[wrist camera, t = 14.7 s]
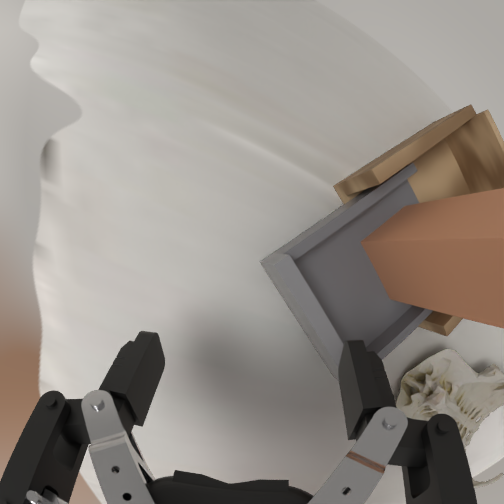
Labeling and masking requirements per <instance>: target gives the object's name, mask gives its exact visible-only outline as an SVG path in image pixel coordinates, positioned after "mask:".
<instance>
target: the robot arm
mask: <svg viewBox="0 0 504 504" xmlns="http://www.w3.org/2000/svg"><path fill="white" fill-rule="evenodd" d="M164 366H165V357H164V353H163V350H162V346H161V342H160V339H159V335H158V334H157V333H154V332H145V331H140V332H139V334H138V335H137V337H136V339H135V341H129V342H128V343H127V344H125V345H124V346H123V347H122V348H121V349H120V351H119V353H118V355H117V358H115V360H114V362H113V365H112V366H111V368H110V369H109V371H108V373H107V375H106V377H105V379H104V380H103V382H102V384H101V386H100V388H99V390H95V391H92V392H90V393H88V394H87V395H86V396H85V397H84V398H83V399H65V397H64V396H63V394H62V393H60V392H58V391H49V392H47V393H45V394H44V395H42V396H41V398H40V399H39V401H38V403H37V405H36V407H35V409H34V411H33V413H32V414H31V416H30V418H29V420H28V422H27V424H26V426H25V428H24V430H23V432H22V434H21V436H20V438H19V440H18V442H17V444H16V447H15V449H14V451H13V453H12V455H11V458H10V460H9V462H8V464H7V467H6V469H5V471H4V474H3V477H2V479H1V481H0V504H69V500H70V497H71V494H72V491H73V488H74V485H75V482H76V478H77V476H78V473H79V470H80V467H81V464H82V461H83V458H84V456H85V453H86V450H87V447H88V444H91V445H90V446H89V453H90V456H91V459H92V463H93V466H94V469H95V472H96V475H97V478H98V480H99V483H100V486H101V489H102V491H103V494H104V496H105V499H106V501H107V504H364V503H365V502H366V500H367V499H368V497H369V496H370V494H371V493H372V491H373V490H374V488H375V487H376V485H377V483H378V482H379V480H380V479H381V477H382V475H383V473H384V471H385V467H386V465H387V464H390V465H398V466H402V471H403V479H404V486H405V495H406V504H477V500H476V495H475V490H474V485H473V481H472V476H471V472H470V468H469V464H468V460H467V456H466V453H465V449H464V445H463V442H462V439H461V435H460V432H459V429H458V425H457V423H456V421H455V420H454V419H453V418H452V417H451V416H449V415H447V414H436V415H434V416H432V417H431V418H430V419H429V421H426V420H417V419H411V418H408V417H406V415H405V414H404V413H403V412H402V411H401V410H400V409H398V408H397V407H396V404H395V401H394V397H393V394H392V391H391V388H390V384H389V381H388V378H387V375H386V372H385V371H384V366H383V363H382V360H381V358H380V357H379V356H378V355H377V354H376V353H375V352H374V351H370V352H367V350H366V347H365V344H364V341H363V340H347V341H345V343H344V346H343V350H342V354H341V358H340V362H339V367H338V378H339V384H340V390H341V396H342V402H343V408H344V415H345V421H346V428H347V435H348V440H353V439H356V444H355V445H354V447H353V448H352V449H351V451H350V452H349V453H348V454H347V455H346V456H345V458H344V459H343V460H342V462H341V463H340V464H339V466H338V467H337V468H336V470H335V471H334V472H333V474H332V475H331V476H330V477H329V479H328V480H327V481H326V482H325V484H324V485H323V486H322V487H321V489H320V490H319V491H318V492H317V493H316V495H315V496H312V495H311V494H309V493H307V492H305V491H303V490H301V489H298V488H295V487H291V486H289V480H255V481H249V482H242V483H234V484H228V483H225V482H222V481H219V480H216V479H213V478H210V477H207V476H205V475H202V474H195V473H189V472H183V471H177V470H175V472H174V476H168V477H162V478H158V479H155V478H154V476H153V474H152V473H151V471H150V469H149V468H148V466H147V464H146V462H145V460H144V458H143V455H142V453H141V451H140V449H139V447H138V444H137V442H136V440H135V437H134V435H133V433H132V428H133V426H134V425H138V426H143V424H144V421H145V418H146V416H147V413H148V410H149V408H150V405H151V402H152V399H153V397H154V394H155V391H156V389H157V386H158V384H159V381H160V378H161V376H162V373H163V370H164Z"/></svg>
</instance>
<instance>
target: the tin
mask: <svg viewBox="0 0 504 504" xmlns="http://www.w3.org/2000/svg"><path fill="white" fill-rule="evenodd" d="M361 244H362V246H363V248H364V250H365V251H366V253H367V255H368V257H369V259H370V261H371V263H372V265H373V266H374V268H375V270H376V272H377V274H378V276H379V278H380V280H381V282H382V284H383V286H384V288H385V290H386V292H387V294H388V296H389V298H390V299H391V300H395V301H398V302H402V303H406V304H410V305H414V306H418V307H421V308H425V309H429V310H433V311H437V312H441V313H445V314H449V315H453V316H457V317H460V318H464V319H468V320H472V321H476V322H480V323H484V324H488V325H492V326H496V327H500V328H504V188H501V189H495V190H490V191H484V192H478V193H473V194H467V195H461V196H456V197H450V198H445V199H439V200H434V201H429V202H423V203H418V204H413V205H407V206H404V207H403V208H402V209H401V210H399V211H398V212H397V213H396V214H394V215H393V216H392V217H391V218H390V219H388V220H387V221H386V222H385V223H383V224H382V225H381V226H380V227H378V228H377V229H376V230H375V231H373V232H372V233H371V234H370V235H368V236H367V237H366V238H365V239H363V240H362V241H361Z"/></svg>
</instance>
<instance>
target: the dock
mask: <svg viewBox="0 0 504 504" xmlns="http://www.w3.org/2000/svg"><path fill="white" fill-rule="evenodd" d="M410 163H414V165H415V167H416V169H417V172H415V173H414V174H413V175H412V176H410V177H409V178H408V179H407V180H408V182H409V184H410V185H411V187H412V189H413V191H414V193H415V195H416V197H417V199H418V201H419V203H423V202H429V201H434V200H439V199H445V198H450V197H456V196H461V195H467V194H473V193H478V192H484V191H490V190H495V189H501V188H504V141H503V139H502V137H501V135H500V133H499V131H498V128H497V126H496V124H495V122H494V120H493V118H492V116H491V114H490V112H489V111H488V110H486V111H483V112H481V113H479V114H476V112H475V111H474V109H473V107H472V105H469V106H466V107H464V108H462V109H460V110H458V111H456V112H454V113H452V114H450V115H448V116H446V117H443V118H441V119H439V120H437V121H435V122H433V123H432V124H430V125H429V126H427V127H425V128H424V129H422V130H421V131H419V132H417V133H416V134H414V135H413V136H411V137H410V138H408V139H406V140H405V141H403V142H402V143H400V144H398V145H397V146H395V147H394V148H392V149H391V150H389V151H387V152H386V153H384V154H383V155H381V156H380V157H378V158H376V159H375V160H373V161H372V162H370V163H369V164H367V165H365V166H364V167H362V168H361V169H359V170H358V171H356V172H354V173H353V174H351V175H350V176H348V177H347V178H345V179H344V180H342V181H340V182H339V183H337V184H336V185H334V186H333V187H334V188H335V190H336V192H337V193H338V195H339V197H340V198H341V200H342V202H343V203H344V204H345V203H347V202H348V201H350V200H351V199H353V198H354V197H356V196H357V195H358V194H360V193H361V192H363V191H364V190H366V189H367V188H370V187H373V186H376V185H379V184H381V183H382V182H384V181H385V180H387V179H388V178H390V177H391V176H392V175H394V174H395V173H397V172H398V171H399V170H401V169H402V168H404V167H405V166H406V165H408V164H410ZM462 319H463V318H460V317H457V316H453V315H449V314H445V313H441V312H437V311H432V313H431V314H430V315H429V316H428V317H427V318H426V319H425V320H424V321H423V322H422V323H421V324H420V325H419V326H418V327H421V328H424V329H427V330H430V331H433V332H436V333H439V334H442V335H444V336H448V335H449V334H450V333H451V332H452V330H453V329H454V328H455V327H456V326H457V325H458V323H459V322H460V321H461V320H462Z"/></svg>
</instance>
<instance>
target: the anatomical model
mask: <svg viewBox="0 0 504 504" xmlns="http://www.w3.org/2000/svg"><path fill="white" fill-rule="evenodd" d="M502 405H504V373H502V372H501V371H500V369H499V367H498V366H496V365H495V364H492V365H491V366H490V367H489V368H488V367H487V368H486V369H485V370H484V371H482V372H480V373H476V372H475V371H474V370H473V369H472V368H471V367H470V366H469V365H468V364H467V363H466V362H465V361H464V360H463V359H462V358H461V356H460V355H459V354H458V353H457V351H455V350H450V349H444V350H442V351H440V352H438V353H436V354H434V355H433V356H431V357H429V358H427V359H426V360H424V361H423V362H422V363H420V364H419V365H417V366H416V367H415V368H413V369H411V370H410V371H408V372H407V373H406V374H405V375H404V376H403V378H402V380H401V388H400V393H399V396H398V398H397V402H396V407H397V408H398V409H400V410H401V411H402V412H403V413H404V414H405V415H406V417H408V418H411V419H417V420H426V421H429V419H430V418H431V417H432V416H434V415H436V414H447V415H449V416H451V417H452V418H453V419H454V420H455V421H456V423H457V425H458V429H459V432H460V435H461V439H462V442H463V445H464V449H465V445H466V446H467V445H469V443H470V440H471V437H472V436H473V434H474V433H475V432H476V431H477V430H478V429H479V426H480V424H481V422H482V421H483V420H484V419H485V418H486V417H488V416H489V414H490V413H491V412H493V411H495V410H496V409H497V408H499V407H500V406H502ZM480 416H481V419H480V420H479V421H478V422H476V420H477V419H478V418H479V417H480ZM468 432H469V433H470V434H469V435H468V436H467V438H466V435H467V434H468ZM465 451H466V449H465ZM503 475H504V474H503V473H501V474H499V475H498V476H496V477H495V478H493V479H491V480H489V481H486V482H477V481H474V480H473V478H472V481H473V485H474V489H475V488H479V487H483V486H486V485H489V484H492V483H494V482H495V481H497V480H498V479H500V478H501V477H502V476H503Z"/></svg>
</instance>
